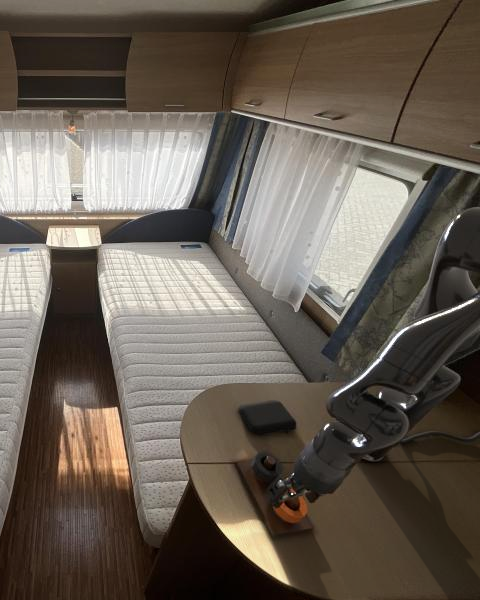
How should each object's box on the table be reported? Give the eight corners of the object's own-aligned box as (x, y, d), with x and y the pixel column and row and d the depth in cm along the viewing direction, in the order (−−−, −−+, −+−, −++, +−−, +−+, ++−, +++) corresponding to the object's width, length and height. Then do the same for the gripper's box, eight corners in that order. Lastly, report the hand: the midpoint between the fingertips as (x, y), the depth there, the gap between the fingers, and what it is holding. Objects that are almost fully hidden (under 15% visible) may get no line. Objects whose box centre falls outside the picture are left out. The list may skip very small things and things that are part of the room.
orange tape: (290, 492, 81) (295, 486, 79) (308, 520, 76) (313, 515, 74) (266, 495, 80) (271, 489, 78) (282, 524, 75) (287, 519, 73)
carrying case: (254, 441, 95) (300, 433, 97) (257, 435, 93) (304, 427, 95) (233, 410, 104) (276, 403, 106) (236, 403, 102) (280, 396, 104)
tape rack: (268, 459, 91) (279, 442, 86) (312, 530, 77) (327, 515, 72) (234, 464, 90) (243, 447, 85) (271, 537, 76) (285, 522, 71)
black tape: (268, 456, 88) (272, 450, 86) (283, 480, 83) (288, 474, 81) (246, 459, 87) (250, 453, 85) (260, 483, 82) (264, 477, 80)
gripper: (302, 488, 63) (272, 524, 72) (370, 478, 64) (331, 515, 74) (278, 450, 69) (253, 488, 78) (340, 442, 70) (308, 480, 80)
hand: (291, 501), depth 76 cm, fingers open, 8 cm apart
